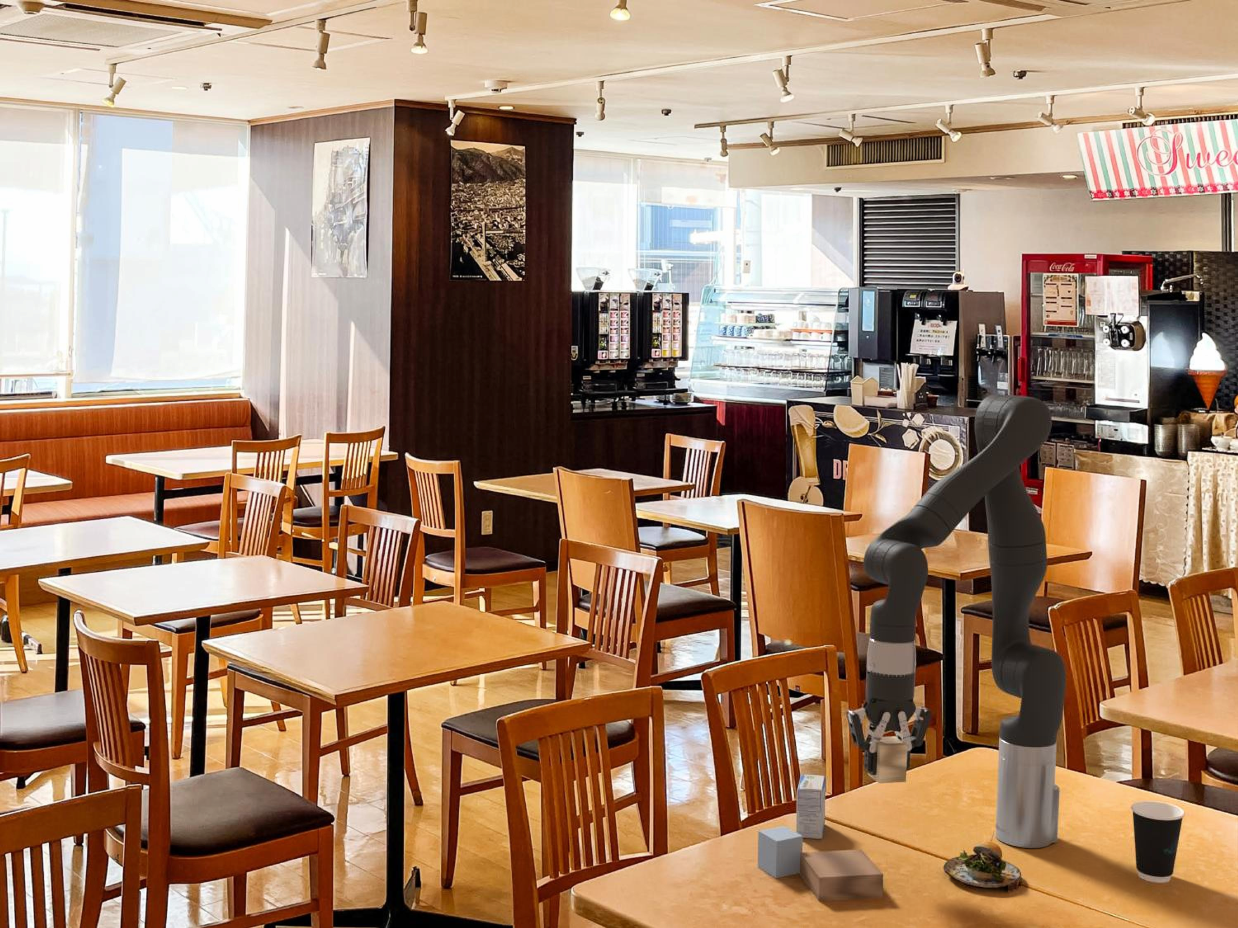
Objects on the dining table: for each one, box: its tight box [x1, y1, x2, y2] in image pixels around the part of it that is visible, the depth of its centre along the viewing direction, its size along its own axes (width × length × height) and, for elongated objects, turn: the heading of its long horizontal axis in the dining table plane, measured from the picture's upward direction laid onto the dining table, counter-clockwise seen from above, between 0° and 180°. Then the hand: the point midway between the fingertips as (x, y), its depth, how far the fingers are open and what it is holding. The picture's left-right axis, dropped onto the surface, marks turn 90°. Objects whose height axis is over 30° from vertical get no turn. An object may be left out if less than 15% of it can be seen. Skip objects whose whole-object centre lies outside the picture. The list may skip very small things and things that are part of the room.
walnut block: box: [799, 849, 884, 902], centre depth 216 cm, size 10×10×4 cm
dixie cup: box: [1130, 800, 1186, 884], centre depth 220 cm, size 8×8×11 cm
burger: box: [943, 831, 1023, 893], centre depth 219 cm, size 12×12×8 cm
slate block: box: [757, 825, 804, 879], centre depth 222 cm, size 5×5×6 cm
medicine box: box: [795, 774, 827, 840], centre depth 238 cm, size 8×4×9 cm, turn 168°
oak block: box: [867, 735, 907, 784], centre depth 221 cm, size 4×4×6 cm
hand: (886, 772), depth 221 cm, fingers closed on oak block, 4 cm apart
